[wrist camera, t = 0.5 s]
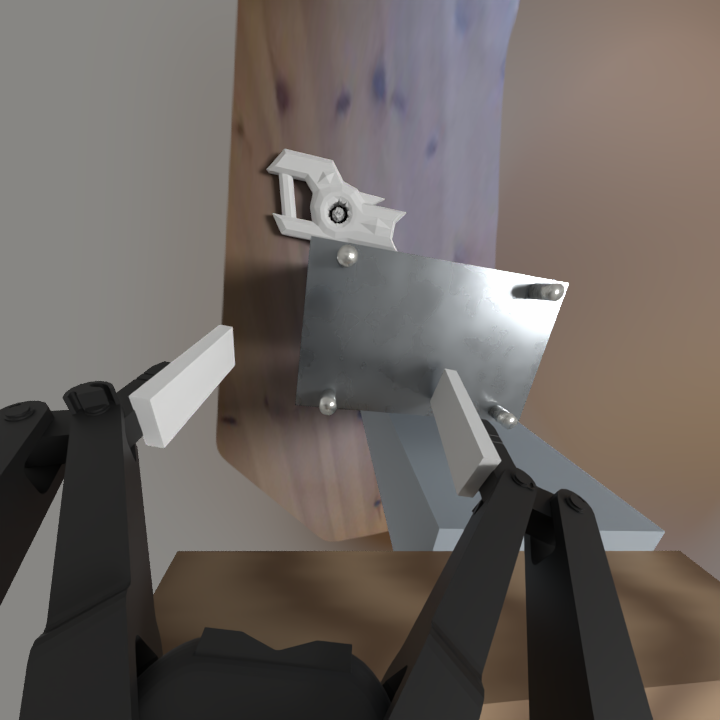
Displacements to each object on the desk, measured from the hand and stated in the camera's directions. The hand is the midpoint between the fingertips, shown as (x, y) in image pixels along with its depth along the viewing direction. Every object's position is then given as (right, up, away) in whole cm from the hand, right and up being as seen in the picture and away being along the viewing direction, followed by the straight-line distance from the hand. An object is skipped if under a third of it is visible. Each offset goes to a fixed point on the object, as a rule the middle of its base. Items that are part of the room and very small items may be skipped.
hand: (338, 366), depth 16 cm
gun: (-2, +21, +19) cm, 28 cm away
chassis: (+3, +8, +23) cm, 25 cm away
